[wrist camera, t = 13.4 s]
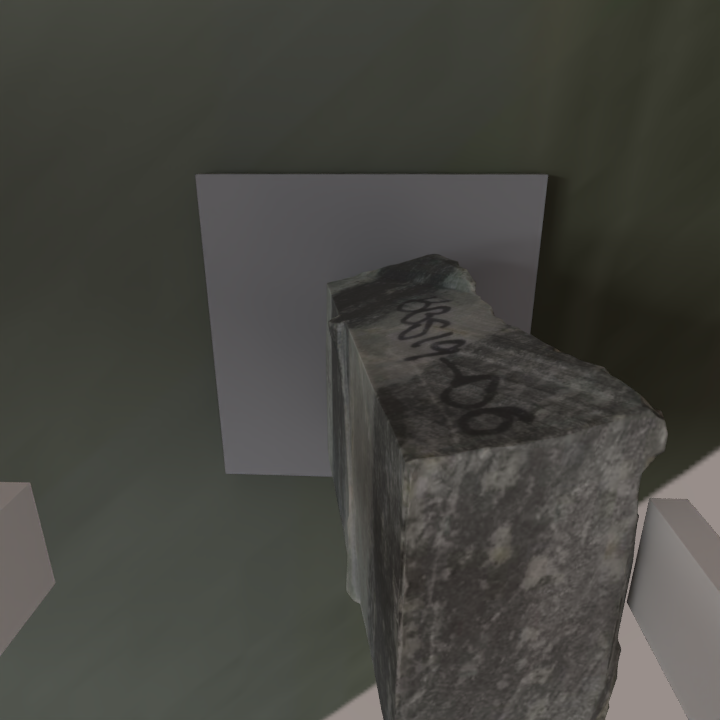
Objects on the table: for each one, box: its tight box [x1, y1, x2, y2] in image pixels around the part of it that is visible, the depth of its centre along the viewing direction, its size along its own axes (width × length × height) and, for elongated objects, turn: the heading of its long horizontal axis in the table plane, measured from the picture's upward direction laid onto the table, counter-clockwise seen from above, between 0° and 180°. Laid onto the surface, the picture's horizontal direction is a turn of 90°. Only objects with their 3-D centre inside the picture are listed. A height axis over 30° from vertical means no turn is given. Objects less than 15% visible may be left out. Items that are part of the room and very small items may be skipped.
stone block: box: [326, 254, 668, 720], centre depth 17 cm, size 9×14×5 cm
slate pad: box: [195, 173, 548, 477], centre depth 25 cm, size 14×14×1 cm
